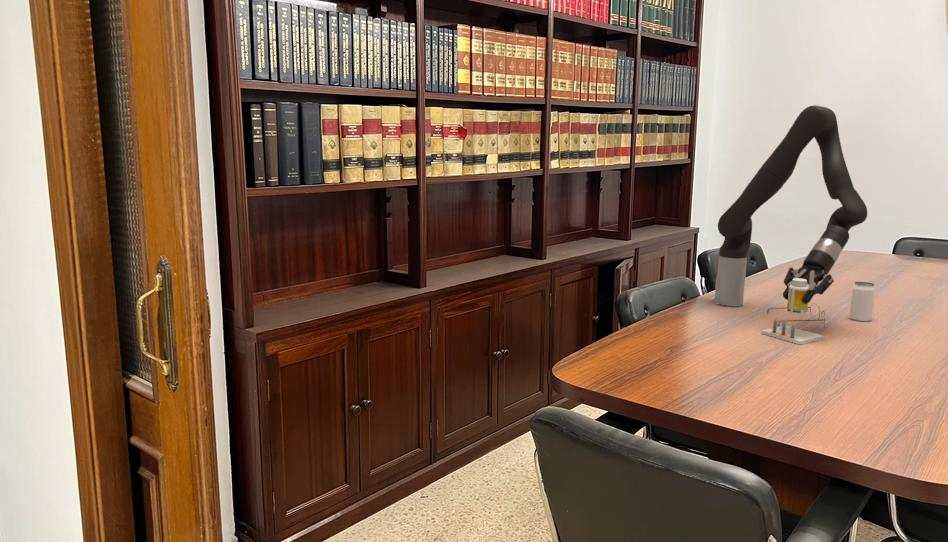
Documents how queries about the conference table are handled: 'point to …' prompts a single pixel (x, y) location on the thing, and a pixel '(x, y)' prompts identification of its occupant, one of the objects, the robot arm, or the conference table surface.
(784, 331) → the header board
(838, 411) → the conference table surface
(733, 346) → the conference table surface
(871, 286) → the can
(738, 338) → the conference table surface
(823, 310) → the eyeglasses
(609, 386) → the conference table surface
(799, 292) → the supplement bottle
